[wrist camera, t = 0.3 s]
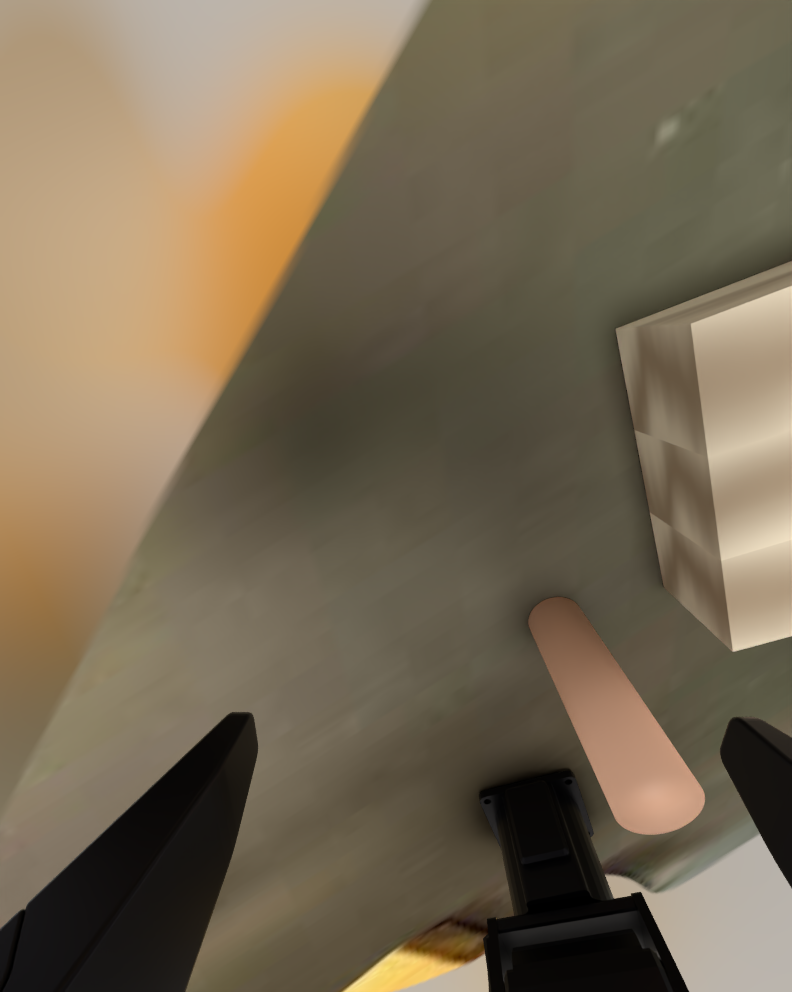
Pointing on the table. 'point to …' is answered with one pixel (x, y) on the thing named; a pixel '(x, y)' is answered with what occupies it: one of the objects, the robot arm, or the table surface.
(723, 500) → the hole block
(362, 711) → the table surface
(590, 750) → the peg
